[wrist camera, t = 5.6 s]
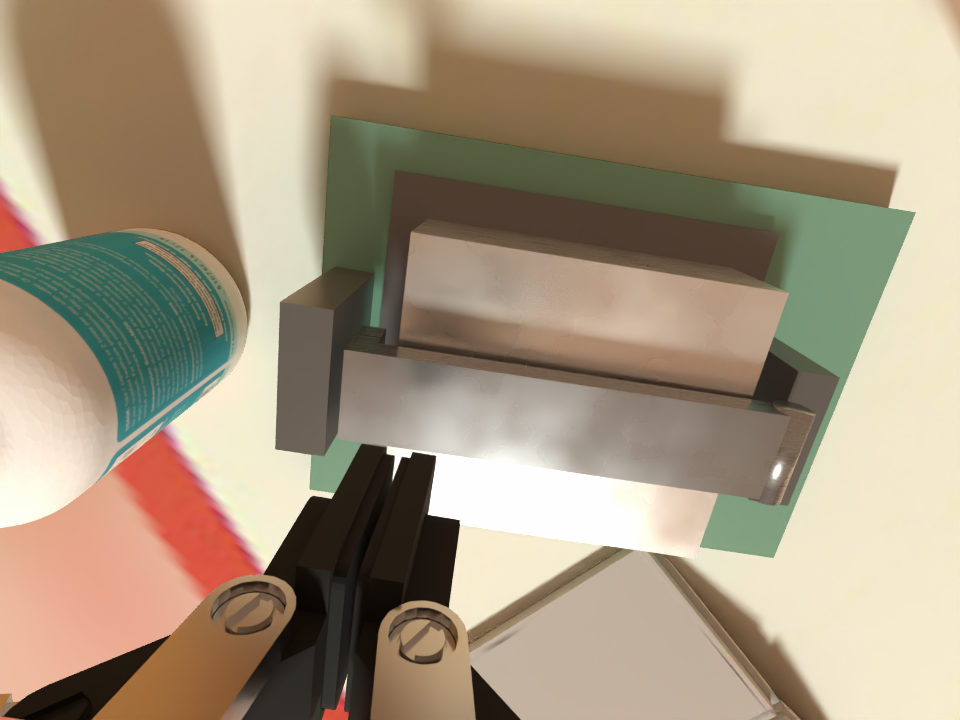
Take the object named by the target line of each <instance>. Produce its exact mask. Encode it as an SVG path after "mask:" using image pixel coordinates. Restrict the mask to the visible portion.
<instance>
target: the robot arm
mask: <svg viewBox="0 0 960 720" xmlns="http://www.w3.org/2000/svg"><path fill="white" fill-rule="evenodd" d="M436 458H437V456H436V455H430V454H424V453H418V452H412V454H411V457H410V458H408V457H401V460H400V463H399V465H398V468H397V471H396V473H395V476H394V479H393V471H394V463H395V455H389V454H387V448H386V447H381V446H374V445H368V444H361V445H360V447H359V449H358V451H357V453H356V455H355V456H354V458H353V460H352V462H351V464H350V466H349V468H348V470H347V471H346V473H345V475H344V477H343V479H342V481H341V483H340V484H339V486H338V488H337V490H336V492H335V494H334V496H333V498H332V499H329V498H323V497H317V496H312V497H311V498H310V499H309V500H308V501H307V503H306V505H305V506H304V508H303V510H302V511H301V513H300V515H299V516H298V518H297V520H296V521H295V523H294V525H293V526H292V528H291V530H290V531H289V533H288V535H287V536H286V538H285V540H284V541H283V543H282V544H281V546H280V548H279V549H278V551H277V553H276V554H275V556H274V558H273V559H272V561H271V563H270V564H269V566H268V568H267V569H266V571H265V573H264V574H263V575H261V574H260V575H246V576H243V577H239V578H235V579H232V580H230V581H228V582H226V583H224V584H222V585H220V586H219V587H218V588H216V589H215V590H214V591H213V592H211V593H210V594H209V595H208V596H207V597H206V598H205V599H204V600H203V601H202V603H201V604H200V605H199V606H198V607H197V608H196V609H195V610H194V611H193V612H192V613H191V614H190V615H189V616H188V618H187V619H186V620H185V621H184V622H183V623H182V624H181V625H180V626H179V627H178V628H177V629H176V630H175V631H174V632H173V633H172V635H169V636H167V637H164V638H162V639H159V640H157V641H155V642H152V643H150V644H147V645H145V646H142V647H140V648H137V649H135V650H133V651H130V652H128V653H125V654H123V655H120V656H118V657H115V658H113V659H111V660H108V661H106V662H103V663H101V664H99V665H96V666H94V667H91V668H88V669H86V670H84V671H81V672H79V673H76V674H74V675H71V676H69V677H66V678H64V679H62V680H59V681H57V682H54V683H52V684H49V685H47V686H45V687H43V688H41V689H39V690H37V691H35V692H33V693H31V694H30V695H28V696H26V697H25V698H24V699H22V700H21V701H20V702H13V700H12V694H0V720H322V717H323V714H324V711H325V709H332V710H335V709H336V707H337V705H338V702H339V699H340V696H341V693H342V690H343V686H344V683H345V680H346V677H347V686H346V696H345V706H344V711H345V712H349V716H348V720H521V719H520V718H519V717H518V716H517V715H516V714H515V713H514V712H513V711H512V709H511V708H510V707H509V706H508V705H507V704H506V703H505V702H504V701H503V700H502V698H501V697H500V696H499V695H498V694H497V693H496V692H495V691H494V690H493V689H492V688H491V686H490V685H489V684H488V683H487V682H486V681H485V680H484V679H483V678H482V677H481V675H480V674H479V673H478V672H477V671H476V670H475V669H474V668H473V667H472V666H471V665H470V655H469V644H468V635H467V632H466V628H465V625H464V623H463V622H462V621H461V619H460V618H459V616H458V615H457V614H455V613H454V612H453V611H452V610H450V609H449V601H450V594H451V587H452V579H453V572H454V565H455V557H456V550H457V543H458V535H459V528H460V520H459V519H453V518H447V517H441V516H434V515H428V514H429V507H430V500H431V493H432V486H433V479H434V473H435V466H436ZM392 480H393V481H392ZM347 674H348V676H347Z"/></svg>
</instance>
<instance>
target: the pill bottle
mask: <svg viewBox="0 0 960 720" xmlns="http://www.w3.org/2000/svg"><path fill="white" fill-rule="evenodd" d="M246 337H247V315H246V309H245V305H244V302H243V299H242V296H241V294H240V291H239V289H238V287H237V285H236V283H235V282H234V280H233V278H232V277H231V275H230V274H229V272H228V271H227V270H226V269H225V267H224V266H223V265H222V264H221V263H220V262H219V261H218V260H217V259H216V258H215V257H214V256H213V255H212V254H210V253H209V252H208V251H207V250H205V249H204V248H203V247H201V246H200V245H198V244H197V243H195V242H193V241H191V240H189V239H187V238H185V237H183V236H181V235H178V234H175V233H172V232H169V231H164V230H159V229H152V228H132V229H125V230H120V231H114V232H108V233H103V234H98V235H92V236H87V237H82V238H77V239H72V240H66V241H61V242H56V243H51V244H46V245H41V246H35V247H30V248H25V249H20V250H14V251H9V252H4V253H0V528H2V527H10V526H15V525H20V524H24V523H28V522H31V521H34V520H37V519H40V518H42V517H45V516H47V515H50V514H52V513H54V512H56V511H58V510H59V509H61V508H62V507H64V506H66V505H67V504H69V503H70V502H72V501H73V500H74V499H75V498H77V497H78V496H80V495H81V494H82V493H83V492H85V491H86V490H87V489H88V488H90V487H91V486H92V485H93V484H95V483H96V482H97V481H98V480H100V479H101V478H102V477H103V476H105V475H106V474H107V473H108V472H109V471H111V470H112V469H113V468H115V467H116V466H117V465H118V464H119V463H120V462H122V461H123V460H124V459H125V458H127V457H128V456H129V455H130V454H132V453H133V452H134V451H136V450H137V449H138V448H139V447H141V446H142V445H143V444H144V443H145V442H147V441H148V440H149V439H150V438H152V437H153V436H154V435H155V434H157V433H158V432H159V431H160V430H162V429H163V428H164V427H166V426H167V425H168V424H169V423H170V422H172V421H173V420H174V419H175V418H177V417H178V416H179V415H180V414H182V413H183V412H184V411H185V410H187V409H188V408H189V407H190V406H192V405H193V404H194V403H195V402H197V401H198V400H199V399H200V398H202V397H203V396H204V395H205V394H207V393H208V392H209V391H211V390H212V389H213V388H214V387H215V386H217V385H218V384H219V383H220V382H221V381H223V380H224V379H225V378H226V377H227V376H228V375H229V374H230V372H231V371H232V370H233V369H234V367H235V366H236V365H237V363H238V361H239V359H240V357H241V355H242V353H243V350H244V347H245V343H246Z"/></svg>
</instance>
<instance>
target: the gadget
mask: <svg viewBox="0 0 960 720" xmlns="http://www.w3.org/2000/svg"><path fill="white" fill-rule="evenodd" d="M469 655H470V665H471V666H472V667H473V668H474V669H475V670H476V671H477V672H478V673H479V674H480V675H481V677H482V678H483V679H484V680H485V681H486V682H487V683H488V684H489V685H490V686H491V688H492V689H493V690H494V691H495V692H496V693H497V694H498V695H499V696H500V697H501V698H502V700H503V701H504V702H505V703H506V704H507V705H508V706H509V707H510V708H511V709H512V711H513V712H514V713H515V714H516V715H517V716H518V717H519V718H520V719H521V720H801V719H800V718H799V717H798V716H797V715H796V714H795V713H794V712H793V711H792V710H791V709H790V708H789V707H788V706H787V705H786V704H785V703H784V702H783V701H782V700H780V699H779V700H778V697H777V695H776V694H775V692H774V691H773V690H772V689H771V687H770V686H769V685H768V684H767V682H766V681H765V680H764V679H763V677H762V676H761V675H760V674H759V672H758V671H757V670H756V669H755V667H754V666H753V665H752V663H751V662H750V661H749V660H748V658H747V657H746V656H745V655H744V653H743V652H742V651H741V650H740V648H739V647H738V646H737V645H736V643H735V642H734V641H733V639H732V638H731V637H730V636H729V634H728V633H727V632H726V631H725V629H724V628H723V627H722V626H721V624H720V623H719V622H718V621H717V619H716V618H715V617H714V616H713V614H712V613H711V612H710V610H709V609H708V608H707V607H706V605H705V604H704V603H703V602H702V600H701V599H700V598H699V597H698V595H697V594H696V593H695V592H694V590H693V589H692V588H691V587H690V585H689V584H688V583H687V581H686V580H685V579H684V578H683V576H682V575H681V574H680V573H679V571H678V570H677V569H676V568H675V567H674V566H673V564H672V563H671V562H670V561H669V560H668V559H667V558H666V556H665V555H664V554H660V553H653V552H646V551H640V550H633V549H626V548H623V549H621V550H620V551H618V552H617V553H615V554H613V555H612V556H610V557H609V558H607V559H605V560H604V561H602V562H601V563H599V564H597V565H596V566H594V567H593V568H591V569H589V570H588V571H586V572H585V573H583V574H581V575H580V576H578V577H577V578H575V579H573V580H572V581H570V582H569V583H567V584H565V585H564V586H562V587H560V588H559V589H557V590H556V591H554V592H552V593H551V594H549V595H548V596H546V597H544V598H543V599H541V600H540V601H538V602H536V603H535V604H533V605H532V606H530V607H528V608H527V609H525V610H524V611H522V612H520V613H519V614H517V615H516V616H514V617H512V618H511V619H509V620H508V621H506V622H504V623H503V624H501V625H500V626H498V627H496V628H495V629H493V630H492V631H490V632H488V633H487V634H485V635H483V636H482V637H480V638H479V639H477V640H475V641H474V642H472V643H471V644H469Z"/></svg>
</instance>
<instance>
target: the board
mask: <svg viewBox="0 0 960 720" xmlns="http://www.w3.org/2000/svg"><path fill="white" fill-rule="evenodd" d="M915 213H916V212H910V211H904V210H898V209H892V208H886V207H880V206H874V205H868V204H862V203H855V202H849V201H843V200H837V199H831V198H825V197H819V196H813V195H807V194H801V193H795V192H789V191H783V190H777V189H771V188H765V187H759V186H753V185H747V184H741V183H735V182H729V181H723V180H717V179H711V178H705V177H699V176H693V175H687V174H681V173H675V172H669V171H663V170H657V169H651V168H645V167H639V166H633V165H626V164H620V163H614V162H608V161H602V160H596V159H590V158H584V157H578V156H572V155H566V154H560V153H554V152H548V151H542V150H536V149H530V148H524V147H518V146H512V145H506V144H500V143H494V142H488V141H482V140H476V139H470V138H464V137H458V136H452V135H446V134H440V133H434V132H428V131H422V130H416V129H410V128H404V127H397V126H391V125H385V124H379V123H373V122H367V121H361V120H355V119H349V118H343V117H337V116H331V126H330V143H329V160H328V178H327V195H326V212H325V230H324V247H323V265H322V275H321V276H320V277H318V278H317V279H315V280H313V281H312V282H310V283H309V284H307V285H306V286H304V287H303V288H301V289H299V290H298V291H296V292H295V293H293V294H292V295H290V296H288V297H287V298H285V299H284V300H282V301H281V302H280V322H279V353H278V385H277V416H276V447H275V449H277V450H284V451H291V452H297V453H304V454H311V455H312V456H311V473H310V489H311V490H318V491H325V492H331V493H335V492H336V490H337V488H338V486H339V484H340V483H341V481H342V479H343V477H344V475H345V473H346V471H347V470H348V468H349V466H350V464H351V462H352V460H353V458H354V456H355V455H356V453H357V451H358V449H359V447H360V445H361V444H368V443H361V442H354V441H347V440H340V439H337V438H338V424H339V411H340V398H341V384H342V371H343V358H344V349H345V348H346V347H347V345H348V344H349V343H350V341H351V340H352V339H353V337H354V336H355V335H356V333H357V332H358V331H359V330H360V328H361V327H362V326H363V325H365V326H372V327H379V328H385V329H386V337H385V344H386V345H393V346H399V347H406V348H413V349H419V350H426V351H432V352H439V353H446V354H452V355H459V356H466V357H472V358H479V359H486V360H492V361H499V362H506V363H512V364H519V365H526V366H532V367H539V368H545V369H552V370H559V371H565V372H572V373H579V374H585V375H592V376H599V377H605V378H612V379H619V380H625V381H632V382H638V383H645V384H652V385H658V386H665V387H672V388H678V389H685V390H692V391H698V392H705V393H712V394H718V395H725V396H732V397H738V398H745V399H751V400H758V401H765V402H771V403H773V402H774V401H775V400H785V401H790V402H794V403H797V404H800V405H802V406H805V407H807V408H809V409H810V410H812V411H813V412H814V413H815V414H816V415H815V418H814V420H813V423H812V425H811V428H810V430H809V433H808V435H807V438H806V440H805V443H804V445H803V448H802V450H801V453H800V455H799V458H798V460H797V463H796V465H795V468H794V470H793V473H792V475H791V478H790V480H789V483H788V485H787V488H786V490H785V493H784V495H783V498H782V500H781V503H780V504H779V505H776V506H771V505H765V504H762V503H759V502H757V501H755V500H753V499H751V498H745V497H738V496H731V495H724V494H717V493H710V492H703V491H696V490H689V489H682V488H675V487H668V486H661V485H654V484H647V483H640V482H633V481H626V480H619V479H612V478H605V477H598V476H591V475H584V474H577V473H570V472H563V471H556V470H549V469H542V468H535V467H528V466H521V465H514V464H507V463H500V462H493V461H486V460H479V459H472V458H465V457H458V456H451V455H445V454H438V453H431V452H424V451H417V450H410V449H403V448H396V447H389V446H382V445H375V444H368V445H374V446H381V447H386V448H387V454H389V455H395V463H394V471H393V479H394V476H395V473H396V471H397V468H398V465H399V463H400V460H401V457H408V458H410V457H411V454H412V452H418V453H424V454H430V455H436V456H437V458H436V466H435V473H434V479H433V486H432V493H431V500H430V507H429V514H428V515H434V516H441V517H447V518H453V519H459V520H460V524H463V525H470V526H476V527H483V528H490V529H497V530H504V531H510V532H517V533H524V534H531V535H538V536H544V537H551V538H558V539H565V540H572V541H578V542H585V543H592V544H599V545H606V546H612V547H619V548H626V549H633V550H640V551H646V552H653V553H660V554H667V555H673V556H680V557H687V558H694V559H695V558H696V555H697V553H698V550H699V547H703V548H710V549H717V550H724V551H730V552H737V553H744V554H751V555H758V556H764V557H771V558H774V555H775V553H776V550H777V548H778V546H779V543H780V541H781V538H782V536H783V533H784V531H785V529H786V526H787V524H788V521H789V519H790V516H791V514H792V512H793V509H794V507H795V504H796V502H797V500H798V497H799V495H800V492H801V490H802V487H803V485H804V483H805V480H806V478H807V475H808V473H809V470H810V468H811V466H812V463H813V461H814V458H815V456H816V453H817V451H818V449H819V446H820V444H821V441H822V439H823V436H824V434H825V432H826V429H827V427H828V424H829V422H830V419H831V417H832V415H833V412H834V410H835V407H836V405H837V402H838V400H839V398H840V395H841V393H842V390H843V388H844V385H845V383H846V381H847V378H848V376H849V373H850V371H851V368H852V366H853V364H854V361H855V359H856V356H857V354H858V351H859V349H860V347H861V344H862V342H863V339H864V337H865V334H866V332H867V330H868V327H869V325H870V322H871V320H872V317H873V315H874V313H875V310H876V308H877V305H878V303H879V300H880V298H881V296H882V293H883V291H884V288H885V286H886V283H887V281H888V279H889V276H890V274H891V271H892V269H893V266H894V264H895V262H896V259H897V257H898V254H899V252H900V249H901V247H902V245H903V242H904V240H905V237H906V235H907V233H908V230H909V228H910V225H911V223H912V220H913V218H914V216H915ZM392 481H393V480H392Z"/></svg>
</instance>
